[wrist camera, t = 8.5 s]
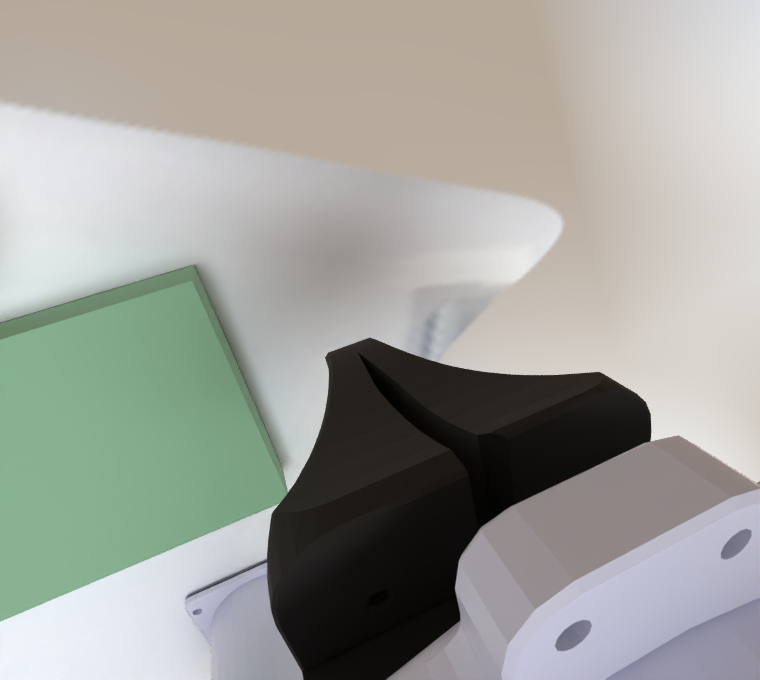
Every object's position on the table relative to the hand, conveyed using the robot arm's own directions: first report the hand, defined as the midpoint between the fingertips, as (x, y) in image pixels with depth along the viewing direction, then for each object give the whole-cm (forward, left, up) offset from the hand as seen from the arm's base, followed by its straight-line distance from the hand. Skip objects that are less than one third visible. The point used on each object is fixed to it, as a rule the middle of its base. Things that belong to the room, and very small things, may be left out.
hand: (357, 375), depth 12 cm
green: (-4, +14, -10) cm, 18 cm away
